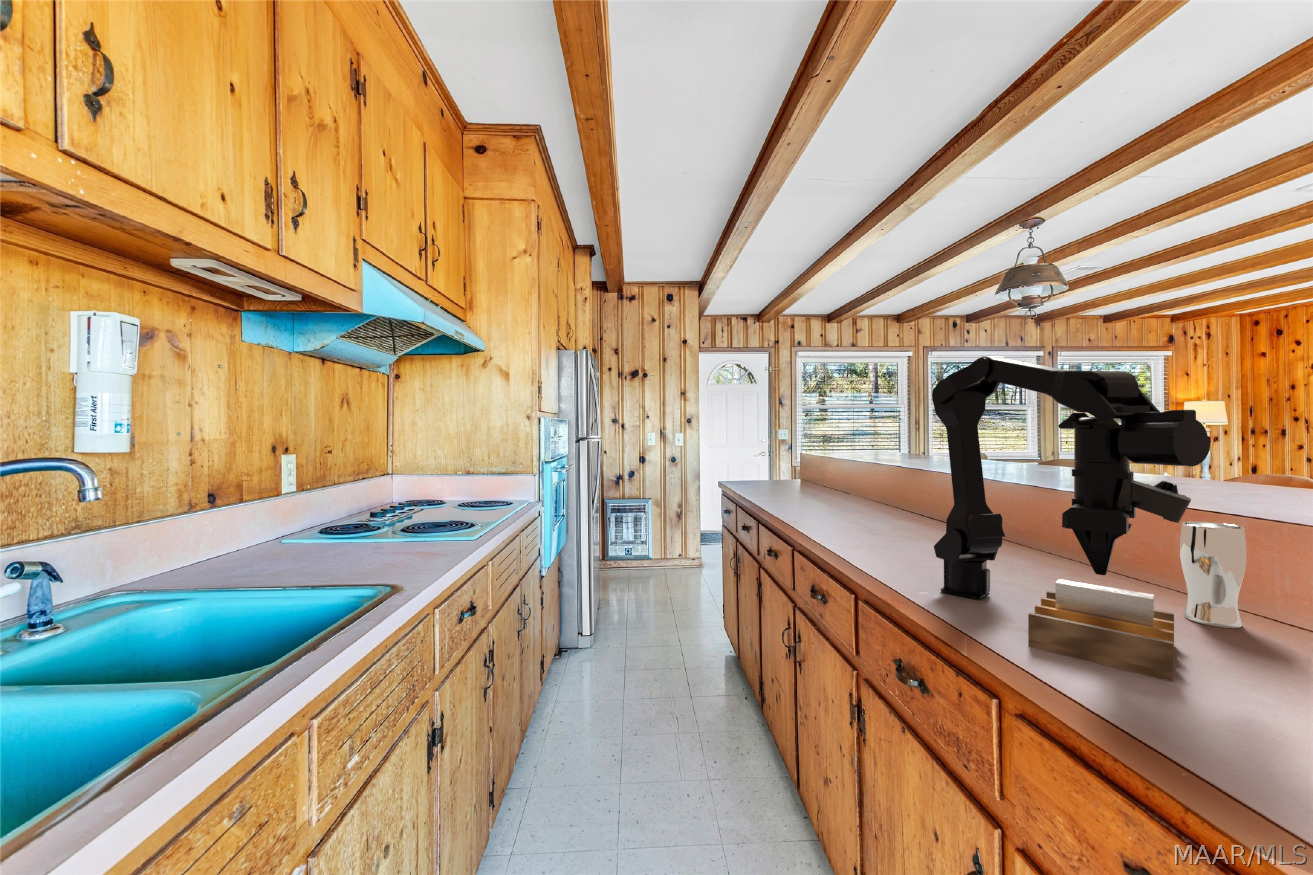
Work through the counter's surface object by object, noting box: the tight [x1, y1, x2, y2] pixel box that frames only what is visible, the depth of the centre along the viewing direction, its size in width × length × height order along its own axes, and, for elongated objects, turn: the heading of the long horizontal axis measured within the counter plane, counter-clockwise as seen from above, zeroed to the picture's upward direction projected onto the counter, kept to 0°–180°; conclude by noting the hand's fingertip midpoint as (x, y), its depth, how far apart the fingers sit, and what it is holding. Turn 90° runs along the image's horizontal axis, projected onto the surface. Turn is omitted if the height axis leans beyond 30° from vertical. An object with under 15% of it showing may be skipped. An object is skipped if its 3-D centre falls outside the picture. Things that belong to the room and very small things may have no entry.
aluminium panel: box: [1055, 578, 1155, 627], centre depth 70 cm, size 10×2×7 cm, turn 43°
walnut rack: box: [1027, 590, 1175, 682], centre depth 70 cm, size 14×14×4 cm
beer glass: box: [1179, 520, 1248, 629], centre depth 78 cm, size 7×7×15 cm
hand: (1100, 574), depth 70 cm, fingers closed
